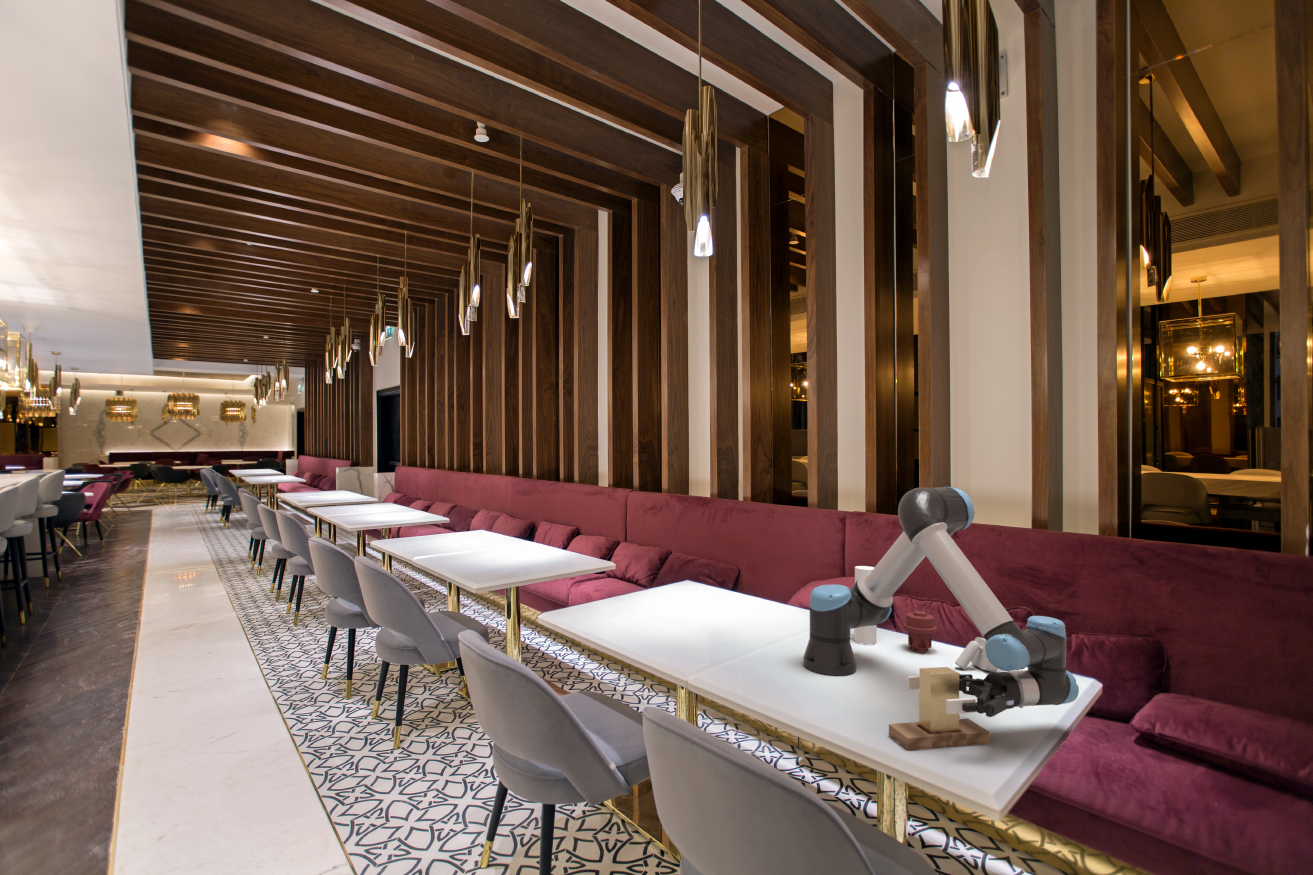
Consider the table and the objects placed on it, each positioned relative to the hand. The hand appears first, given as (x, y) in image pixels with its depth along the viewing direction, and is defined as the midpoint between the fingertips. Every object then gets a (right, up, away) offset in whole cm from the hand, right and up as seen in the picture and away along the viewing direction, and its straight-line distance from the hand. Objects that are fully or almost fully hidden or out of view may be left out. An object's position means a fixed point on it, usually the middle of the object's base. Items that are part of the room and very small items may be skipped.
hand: (926, 694), depth 133 cm
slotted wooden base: (+3, -10, 0) cm, 10 cm away
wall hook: (+36, -13, +47) cm, 61 cm away
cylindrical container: (+12, -13, +72) cm, 75 cm away
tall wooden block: (+3, -10, 0) cm, 10 cm away
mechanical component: (+27, -13, +64) cm, 71 cm away
